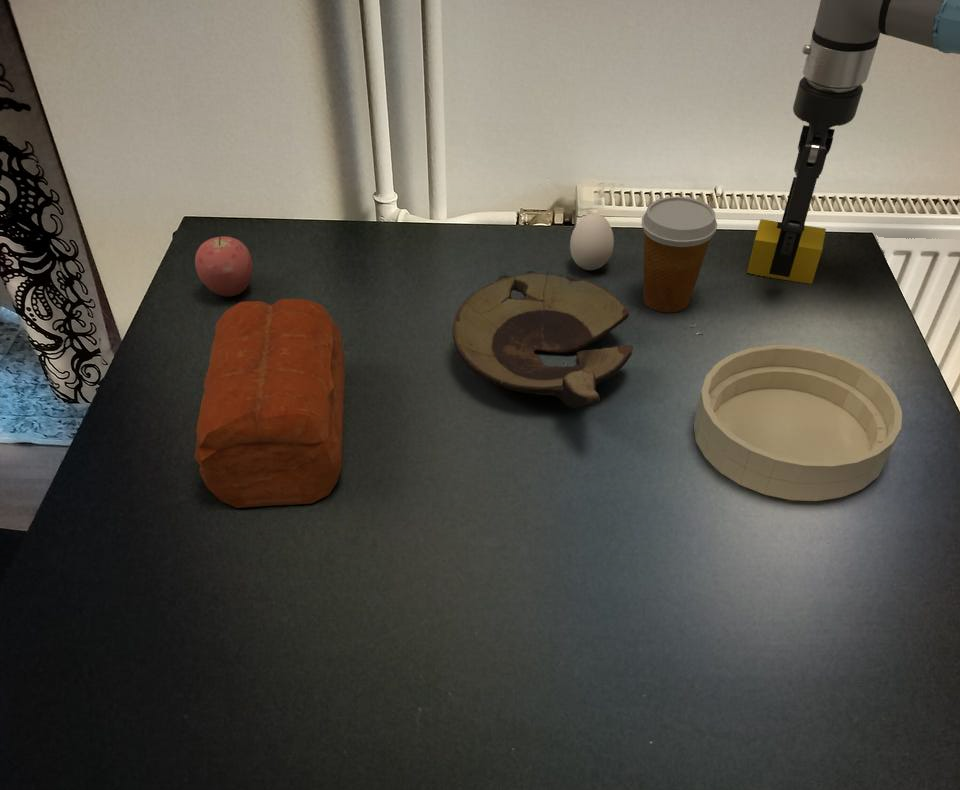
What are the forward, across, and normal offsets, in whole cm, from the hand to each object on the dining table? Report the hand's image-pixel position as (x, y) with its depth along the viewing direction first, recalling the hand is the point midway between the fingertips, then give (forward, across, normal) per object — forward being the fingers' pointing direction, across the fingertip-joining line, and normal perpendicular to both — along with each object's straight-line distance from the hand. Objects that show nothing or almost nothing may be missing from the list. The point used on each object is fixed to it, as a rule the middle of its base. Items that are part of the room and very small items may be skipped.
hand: (785, 249), depth 124 cm
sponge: (+3, 0, 0) cm, 3 cm away
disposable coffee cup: (+3, +13, -14) cm, 19 cm away
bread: (+3, +54, -52) cm, 75 cm away
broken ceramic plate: (+3, +34, -26) cm, 43 cm away
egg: (+3, +8, -26) cm, 27 cm away
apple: (+3, +29, -72) cm, 78 cm away
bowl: (+2, +38, +5) cm, 39 cm away
